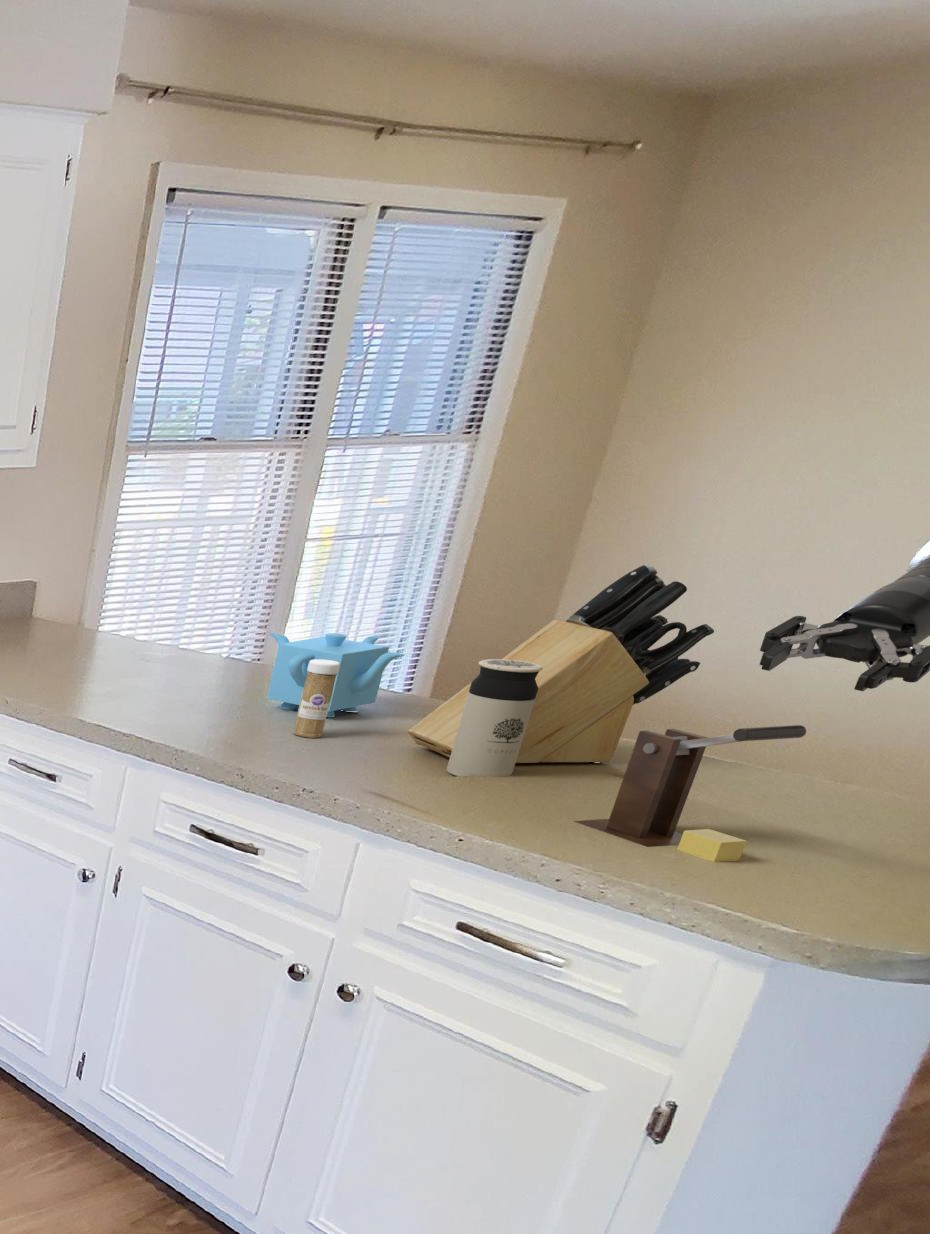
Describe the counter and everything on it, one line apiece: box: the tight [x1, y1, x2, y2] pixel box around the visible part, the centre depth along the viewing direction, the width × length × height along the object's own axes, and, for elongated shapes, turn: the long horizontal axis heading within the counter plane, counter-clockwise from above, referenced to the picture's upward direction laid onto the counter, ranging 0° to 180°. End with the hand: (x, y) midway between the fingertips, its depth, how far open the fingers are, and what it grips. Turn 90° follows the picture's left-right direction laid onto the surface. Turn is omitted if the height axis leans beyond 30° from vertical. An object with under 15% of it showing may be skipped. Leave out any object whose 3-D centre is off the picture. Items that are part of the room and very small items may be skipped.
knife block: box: [407, 563, 715, 764], centre depth 180 cm, size 11×35×31 cm, turn 88°
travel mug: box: [446, 658, 542, 778], centre depth 173 cm, size 8×8×18 cm
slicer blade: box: [674, 724, 807, 756], centre depth 140 cm, size 13×8×2 cm, turn 6°
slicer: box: [573, 728, 709, 848], centre depth 147 cm, size 10×9×15 cm
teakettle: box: [266, 632, 406, 717], centre depth 213 cm, size 19×19×15 cm
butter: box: [677, 828, 748, 863], centre depth 141 cm, size 7×7×4 cm
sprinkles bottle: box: [292, 659, 340, 739], centre depth 197 cm, size 5×5×14 cm
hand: (812, 673), depth 135 cm, fingers open, 8 cm apart
